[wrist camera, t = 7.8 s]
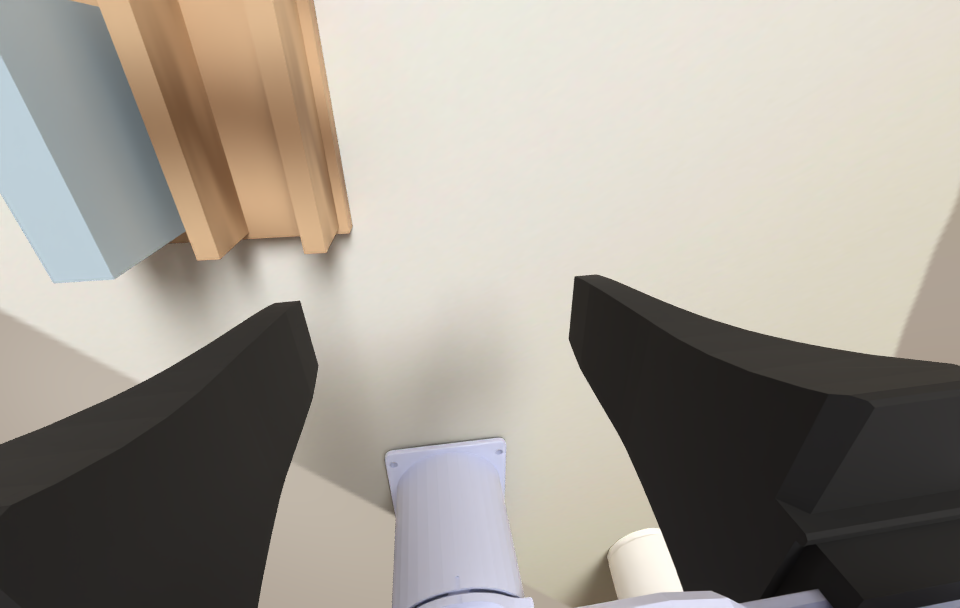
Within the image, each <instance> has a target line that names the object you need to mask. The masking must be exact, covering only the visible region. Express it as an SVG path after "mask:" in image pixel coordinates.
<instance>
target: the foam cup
mask: <svg viewBox="0 0 960 608" xmlns="http://www.w3.org/2000/svg"><path fill="white" fill-rule="evenodd" d="M607 559H608V561H609V568H610V571H611V575H612V579H613V583H614V586H615V590H616V594H617V597H618V600H621V599H626V598H632V597H637V596H643V595H649V594H654V593H660V592H683V589H682V586H681V583H680V580H679V578H678V575H677V572H676V569H675V566H674V564H673V561H672V559H671V556H670V553H669V551H668V548H667V545H666V543H665V540H664V538H663V535H662V532H661V530H660V528H646V529H642V530H638V531H634V532H632V533H630V534H628V535H626V536H624V537H622V538H620V539H619V540H618V541H617V542H616V543H615V544H614V545H613V546H612V547H611V548H610V549H609V552H608V555H607Z"/></svg>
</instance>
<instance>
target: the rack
mask: <svg viewBox="0 0 960 608" xmlns="http://www.w3.org/2000/svg"><path fill="white" fill-rule="evenodd" d="M71 1H75V2H80V3H84V4H89V5H93V6H98V7H100V10H101V13H102V15H103V18H104V20H105V23H106V26H107V28H108V31H109V33H110V36H111V39H112V41H113V44H114V46H115V49H116V51H117V54H118V57H119V59H120V62H121V64H122V67H123V70H124V72H125V75H126V77H127V80H128V83H129V85H130V88H131V90H132V93H133V96H134V98H135V101H136V103H137V106H138V108H139V111H140V114H141V116H142V119H143V121H144V124H145V127H146V129H147V132H148V134H149V137H150V140H151V142H152V145H153V147H154V150H155V153H156V155H157V158H158V160H159V163H160V165H161V168H162V171H163V173H164V176H165V178H166V181H167V184H168V186H169V189H170V191H171V194H172V197H173V199H174V202H175V204H176V207H177V210H178V212H179V215H180V217H181V220H182V223H183V225H184V228H185V230H186V231H185V232H184V233H182V234H181V235H179V236H178V237H176V238H175V239H173V240H172V241H170V242H169V243H187V242H190V243H191V246H192V248H193V251H194V254H195V256H196V259H197V261H200V260H216V259H221V258H222V257H223V256H224V255H225V254H226V253H228V252H229V251H230V250H231V249H232V248H233V247H234V246H235V245H236V244H237V243H238V242H239V241H240V240H241V239H258V238H276V237H293V236H300V237H301V241H302V246H303V250H304V254H314V253H326V252H327V250H328V248H329V247H330V245H331V243H332V241H333V239H334V237H335V235H336V234H346V233H350V231H351V228H352V221H351V215H350V209H349V203H348V198H347V192H346V186H345V180H344V174H343V169H342V163H341V157H340V151H339V146H338V140H337V134H336V128H335V122H334V117H333V111H332V105H331V99H330V94H329V88H328V82H327V76H326V70H325V65H324V59H323V53H322V47H321V42H320V36H319V30H318V24H317V18H316V13H315V7H314V1H313V0H71ZM169 243H168V244H169Z"/></svg>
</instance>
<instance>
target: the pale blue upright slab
mask: <svg viewBox="0 0 960 608" xmlns="http://www.w3.org/2000/svg"><path fill="white" fill-rule="evenodd" d="M0 194H1V195H2V197H3V199H4V200H5V202H6V204H7V205H8V207H9V209H10V211H11V212H12V214H13V216H14V217H15V219H16V221H17V222H18V224H19V226H20V227H21V229H22V231H23V233H24V234H25V236H26V238H27V239H28V241H29V243H30V244H31V246H32V248H33V249H34V251H35V253H36V254H37V256H38V258H39V260H40V261H41V263H42V265H43V266H44V268H45V270H46V271H47V273H48V275H49V276H50V278H51V280H52V282H53V283H66V282H81V281H97V280H112V279H116V278H117V277H119V276H120V275H122V274H123V273H124V272H126V271H127V270H129V269H130V268H132V267H133V266H135V265H136V264H138V263H139V262H141V261H142V260H144V259H145V258H147V257H148V256H150V255H151V254H153V253H154V252H156V251H157V250H159V249H160V248H162V247H163V246H165V245H166V244H168V243H169V242H170V241H172V240H173V239H175V238H176V237H178V236H179V235H181V234H182V233H184V232H185V231H186V230H185V228H184V225H183V223H182V220H181V217H180V215H179V212H178V210H177V207H176V204H175V202H174V199H173V197H172V194H171V191H170V189H169V186H168V184H167V181H166V178H165V176H164V173H163V171H162V168H161V165H160V163H159V160H158V158H157V155H156V153H155V150H154V147H153V145H152V142H151V140H150V137H149V134H148V132H147V129H146V127H145V124H144V121H143V119H142V116H141V114H140V111H139V108H138V106H137V103H136V101H135V98H134V96H133V93H132V90H131V88H130V85H129V83H128V80H127V77H126V75H125V72H124V70H123V67H122V64H121V62H120V59H119V57H118V54H117V51H116V49H115V46H114V44H113V41H112V39H111V36H110V33H109V31H108V28H107V26H106V23H105V20H104V18H103V15H102V13H101V10H100V7H98V6H93V5H89V4H84V3H80V2H75V1H71V0H0Z"/></svg>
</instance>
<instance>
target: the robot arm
mask: <svg viewBox="0 0 960 608" xmlns="http://www.w3.org/2000/svg"><path fill="white" fill-rule="evenodd" d="M569 341H570V344H571V347H572V349H573V352H574V355H575V357H576V359H577V362H578V364H579V367H580V369H581V371H582V372H583V374H584V376H585V378H586V380H587V381H588V383H589V385H590V386H591V388H592V390H593V392H594V393H595V395H596V397H597V398H598V400H599V402H600V404H601V405H602V407H603V409H604V410H605V412H606V414H607V415H608V417H609V419H610V421H611V422H612V424H613V426H614V427H615V429H616V431H617V433H618V434H619V436H620V438H621V440H622V442H623V444H624V446H625V448H626V450H627V452H628V454H629V457H630V459H631V461H632V463H633V466H634V468H635V470H636V472H637V474H638V477H639V479H640V481H641V484H642V486H643V488H644V491H645V493H646V496H647V498H648V500H649V503H650V505H651V508H652V510H653V512H654V515H655V517H656V520H657V522H658V525H659V527H660V530H661V532H662V535H663V538H664V540H665V543H666V545H667V548H668V551H669V553H670V556H671V559H672V561H673V564H674V566H675V569H676V572H677V575H678V578H679V580H680V583H681V586H682V589H683V592H660V593H654V594H649V595H643V596H637V597H632V598H626V599H621V600H615V601H610V602H604V603H599V604H593V605H587V606H582V607H576V608H960V366H958V365H955V364H948V363H939V362H931V361H922V360H913V359H904V358H895V357H886V356H877V355H870V354H863V353H857V352H851V351H844V350H838V349H832V348H826V347H821V346H815V345H810V344H805V343H800V342H795V341H791V340H786V339H782V338H777V337H773V336H768V335H764V334H760V333H756V332H752V331H749V330H745V329H741V328H738V327H735V326H731V325H728V324H725V323H721V322H718V321H715V320H712V319H709V318H706V317H703V316H700V315H697V314H694V313H692V312H689V311H686V310H684V309H681V308H678V307H676V306H673V305H671V304H668V303H666V302H663V301H661V300H659V299H656V298H654V297H651V296H649V295H647V294H644V293H642V292H640V291H638V290H635V289H633V288H631V287H628V286H626V285H624V284H621V283H619V282H617V281H614V280H612V279H609V278H606V277H603V276H600V275H586V276H575V279H574V289H573V300H572V310H571V320H570V331H569ZM317 371H318V363H317V359H316V356H315V352H314V349H313V345H312V342H311V338H310V334H309V331H308V327H307V324H306V320H305V317H304V313H303V310H302V306H301V303H300V301H293V302H282V303H274V304H272V305H270V306H268V307H266V308H264V309H263V310H261V311H259V312H258V313H256V314H254V315H253V316H251V317H250V318H248V319H247V320H245V321H243V322H242V323H240V324H239V325H237V326H236V327H234V328H233V329H231V330H230V331H228V332H227V333H225V334H223V335H222V336H220V337H219V338H217V339H216V340H214V341H213V342H211V343H210V344H208V345H206V346H205V347H203V348H201V349H200V350H198V351H196V352H195V353H193V354H191V355H190V356H188V357H186V358H185V359H183V360H181V361H180V362H178V363H176V364H175V365H173V366H171V367H170V368H168V369H166V370H164V371H162V372H161V373H159V374H157V375H155V376H153V377H151V378H149V379H148V380H146V381H144V382H142V383H140V384H138V385H136V386H134V387H132V388H130V389H128V390H126V391H124V392H122V393H120V394H118V395H116V396H114V397H112V398H110V399H107V400H105V401H103V402H101V403H99V404H96V405H94V406H92V407H89V408H87V409H85V410H83V411H80V412H78V413H76V414H73V415H71V416H69V417H66V418H65V419H62V420H60V421H57V422H55V423H53V424H51V425H48V426H46V427H43V428H41V429H39V430H36V431H33V432H31V433H28V434H26V435H23V436H21V437H18V438H15V439H13V440H10V441H8V442H5V443H3V444H0V608H258V602H259V596H260V591H261V585H262V580H263V574H264V570H265V565H266V560H267V555H268V550H269V545H270V539H271V534H272V530H273V526H274V521H275V517H276V513H277V508H278V504H279V499H280V495H281V492H282V488H283V485H284V481H285V478H286V475H287V472H288V469H289V466H290V463H291V461H292V458H293V455H294V452H295V449H296V446H297V443H298V440H299V437H300V435H301V432H302V429H303V426H304V423H305V420H306V417H307V414H308V411H309V408H310V405H311V402H312V399H313V393H314V388H315V383H316V377H317ZM499 449H500V450H499ZM392 462H395V463H392ZM385 463H386V469H387V474H388V479H389V485H390V490H391V495H392V501H393V506H394V511H395V517H396V528H395V550H394V573H393V596H392V608H534V603H533V599H532V598H531V597H527V598H525V596H524V591H523V586H522V581H521V577H520V572H519V567H518V563H517V558H516V553H515V548H514V544H513V539H512V534H511V529H510V525H509V520H508V515H507V510H506V506H505V471H506V442H505V440H504V439H503V438H490V439H482V440H474V441H465V442H457V443H448V444H440V445H431V446H423V447H414V448H406V449H398V450H391V451H388V452H387V453H386V454H385Z"/></svg>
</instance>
